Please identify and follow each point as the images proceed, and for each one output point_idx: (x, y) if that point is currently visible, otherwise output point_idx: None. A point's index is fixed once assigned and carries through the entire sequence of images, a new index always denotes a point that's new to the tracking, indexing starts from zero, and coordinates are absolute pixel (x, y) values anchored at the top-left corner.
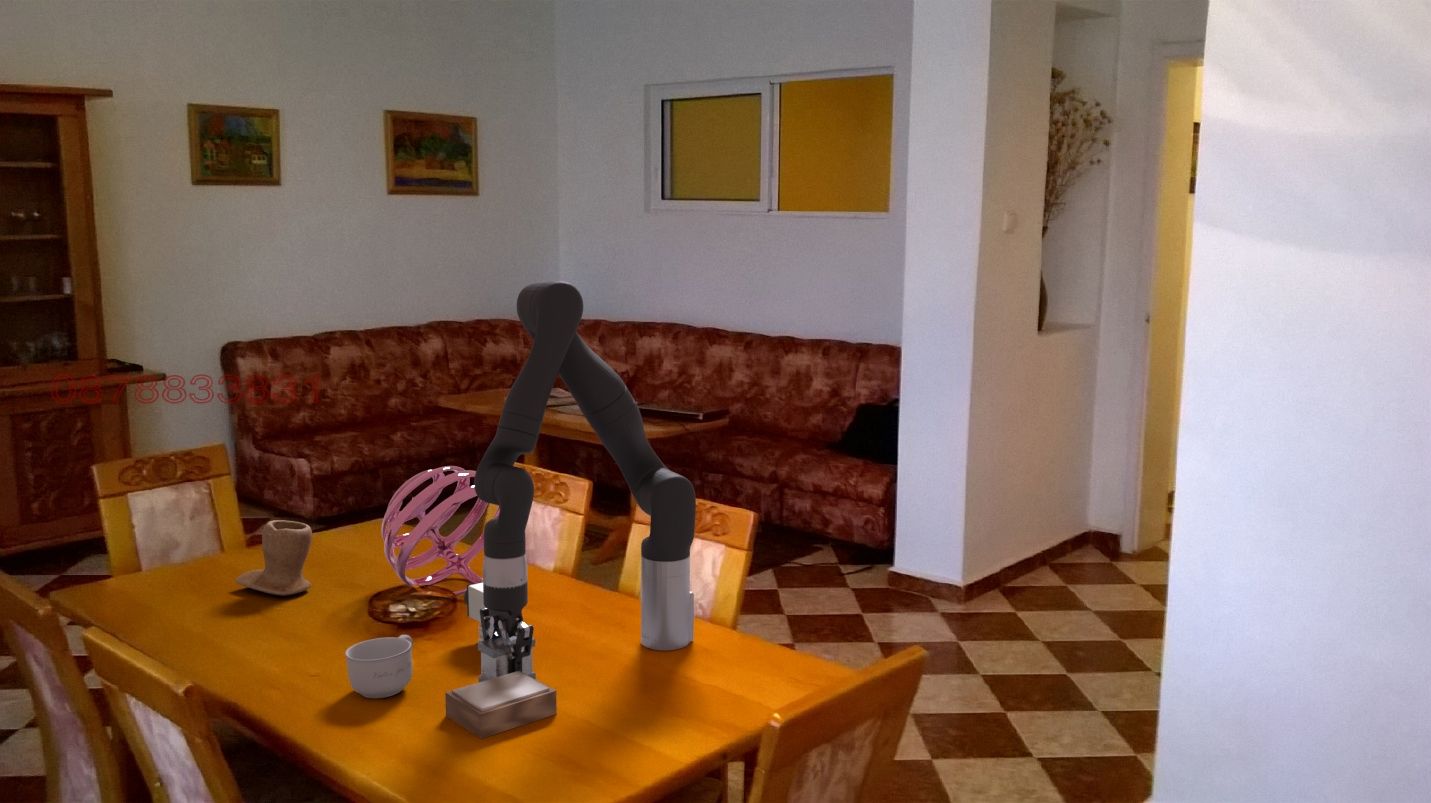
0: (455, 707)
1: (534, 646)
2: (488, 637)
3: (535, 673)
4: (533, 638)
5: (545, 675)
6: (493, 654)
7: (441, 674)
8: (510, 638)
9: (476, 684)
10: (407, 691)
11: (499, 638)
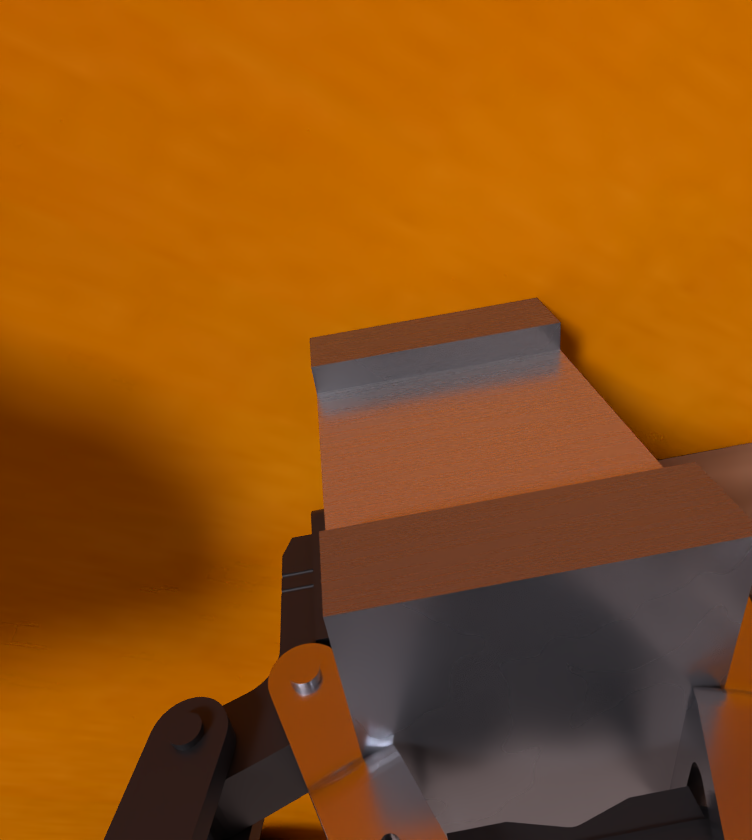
0: None
1: (695, 472)
2: (256, 823)
3: (556, 320)
4: (730, 544)
5: (495, 180)
6: None
7: (126, 709)
8: (518, 742)
9: None
10: (279, 818)
11: (437, 809)
